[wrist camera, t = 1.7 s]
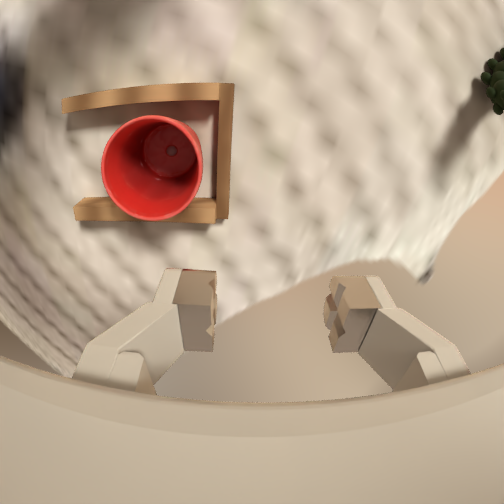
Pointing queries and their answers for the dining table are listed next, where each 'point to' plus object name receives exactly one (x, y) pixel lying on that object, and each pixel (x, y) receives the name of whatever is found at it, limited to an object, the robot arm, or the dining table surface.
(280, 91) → the dining table surface
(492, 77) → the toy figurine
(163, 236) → the dining table surface
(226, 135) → the brown wooden u-shaped frame
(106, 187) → the flower pot
